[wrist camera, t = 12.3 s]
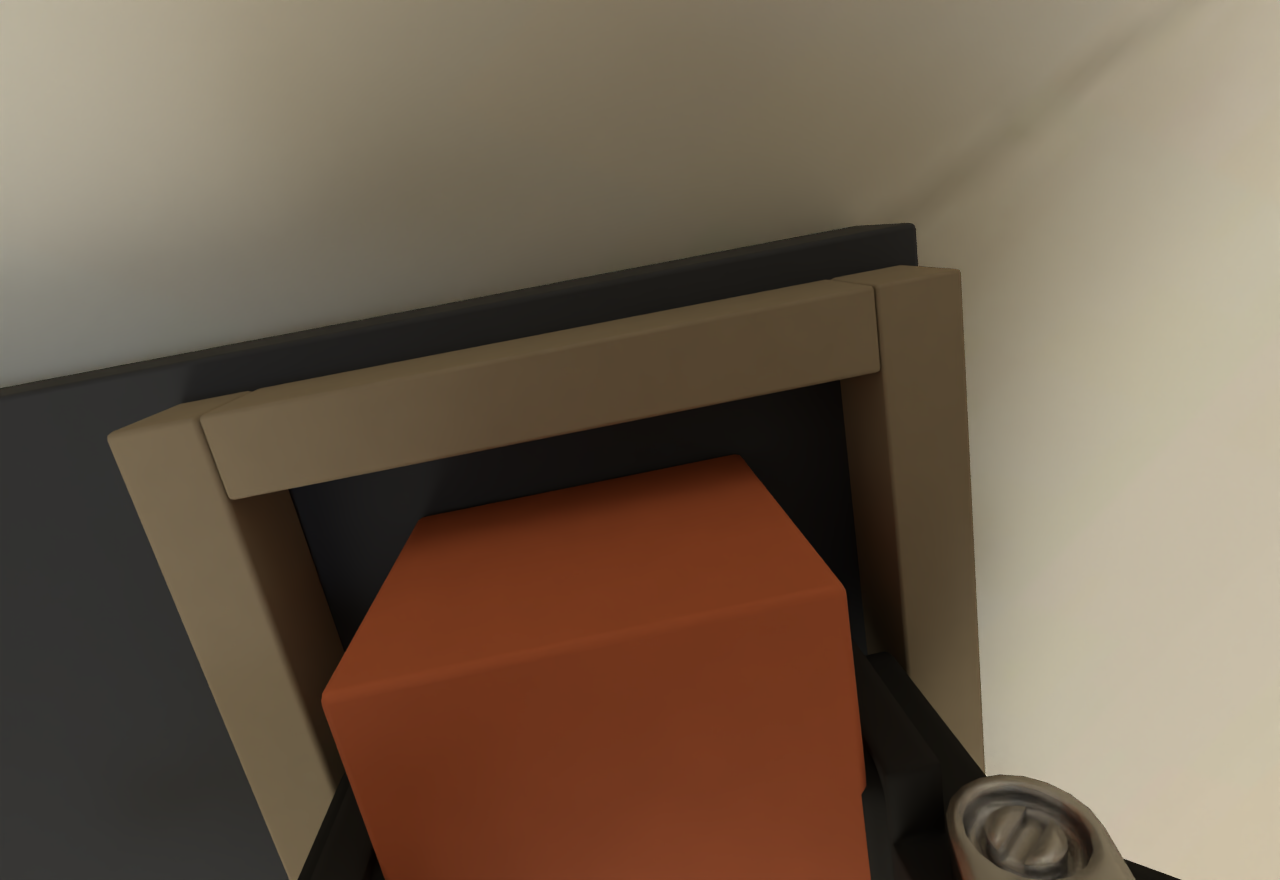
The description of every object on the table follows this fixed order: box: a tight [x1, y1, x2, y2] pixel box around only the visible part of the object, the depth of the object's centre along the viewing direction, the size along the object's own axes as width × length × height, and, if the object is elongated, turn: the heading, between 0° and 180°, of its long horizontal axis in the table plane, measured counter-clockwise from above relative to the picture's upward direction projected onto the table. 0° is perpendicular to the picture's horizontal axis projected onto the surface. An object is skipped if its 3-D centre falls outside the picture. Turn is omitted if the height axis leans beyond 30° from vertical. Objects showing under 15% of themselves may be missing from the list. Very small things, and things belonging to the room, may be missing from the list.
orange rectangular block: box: [321, 454, 871, 880], centre depth 9 cm, size 7×4×4 cm, turn 10°
